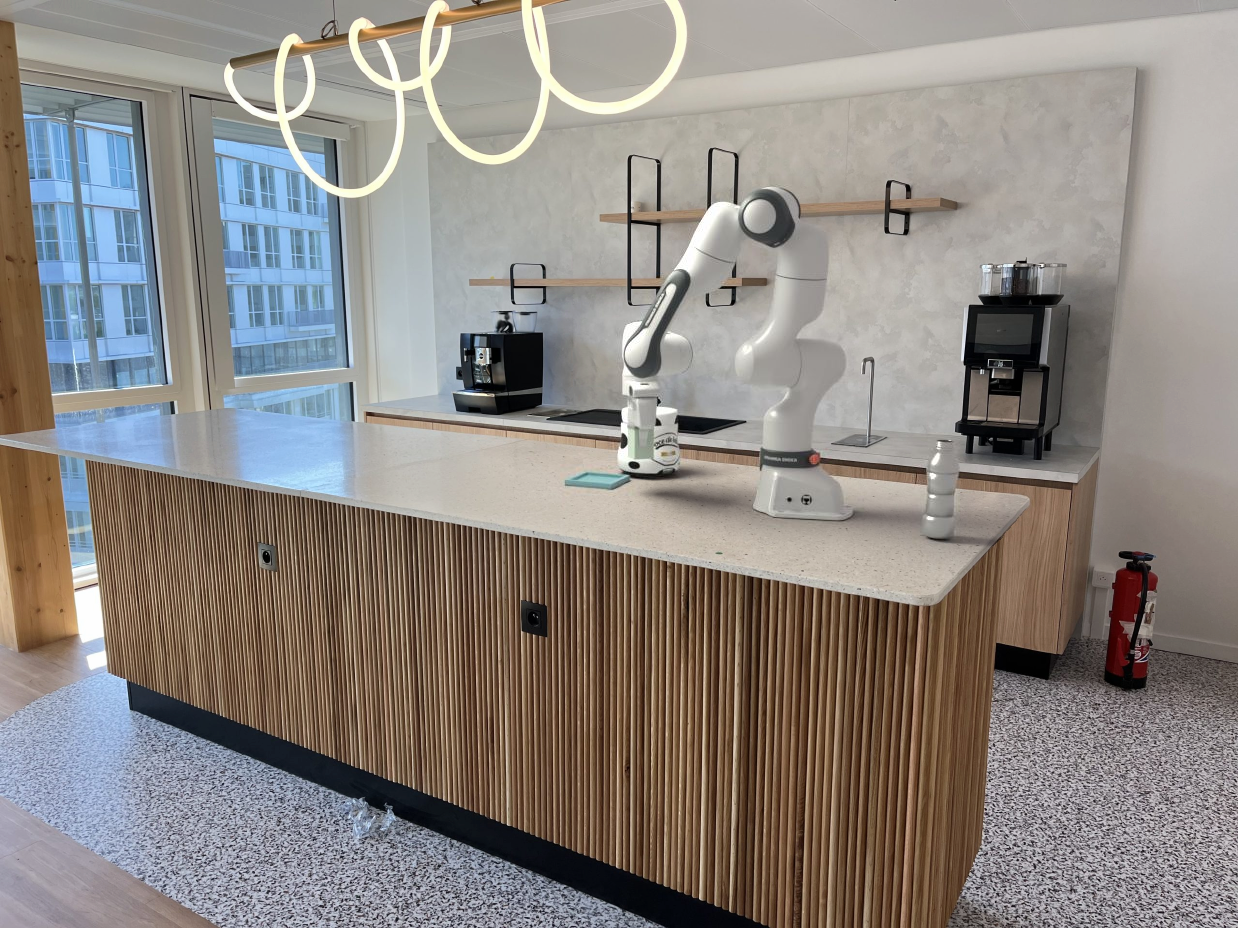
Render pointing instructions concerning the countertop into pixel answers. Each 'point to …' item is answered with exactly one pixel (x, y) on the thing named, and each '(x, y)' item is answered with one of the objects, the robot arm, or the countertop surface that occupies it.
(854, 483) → the countertop surface
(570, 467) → the countertop surface
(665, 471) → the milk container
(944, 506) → the plastic bottle
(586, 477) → the tray
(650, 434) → the tea tin
